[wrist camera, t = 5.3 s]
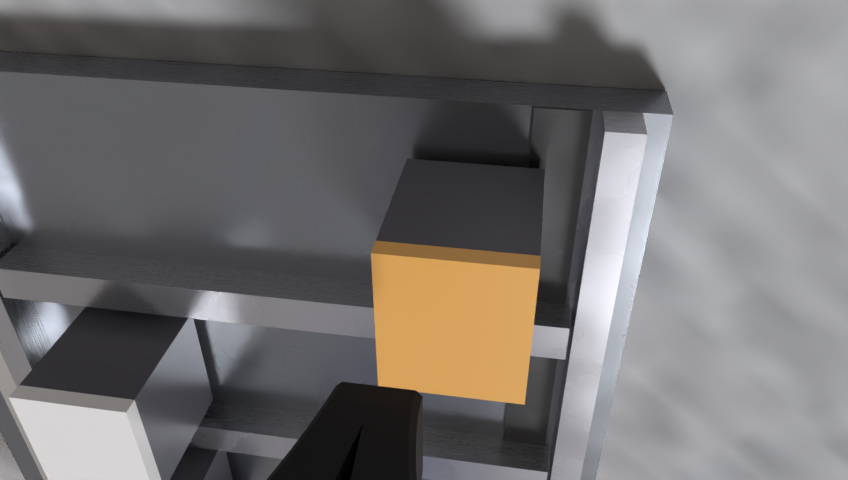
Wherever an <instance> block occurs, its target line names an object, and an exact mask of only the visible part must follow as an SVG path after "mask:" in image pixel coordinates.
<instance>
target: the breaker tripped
mask: <svg viewBox="0 0 848 480" xmlns="http://www.w3.org/2000/svg"><path fill="white" fill-rule="evenodd" d="M544 177H545V169H537V168H524V167H511V166H498V165H484V164H471V163H458V162H445V161H432V160H419V159H407V160H406V163H405V165H404V168H403V171H402V173H401V176H400V178H399V181H398V184H397V186H396V189H395V191H394V194H393V197H392V199H391V202H390V204H389V207H388V210H387V212H386V215H385V218H384V220H383V223H382V225H381V228H380V231H379V233H378V236H377V238H376V241H375V244H374V246H373V249H372V252H371V265H372V284H373V302H374V320H375V338H376V357H377V375H378V386H383V387H392V388H400V389H409V390H416V391H417V392H423V393H431V394H439V395H448V396H456V397H464V398H473V399H481V400H489V401H498V402H506V403H514V404H523V405H525V397H526V389H527V380H528V371H529V362H530V353H531V345H532V336H533V327H534V318H535V309H536V301H537V292H538V283H539V274H540V260H541V239H542V219H543V198H544Z"/></svg>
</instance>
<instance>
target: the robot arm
mask: <svg viewBox="0 0 848 480" xmlns="http://www.w3.org/2000/svg"><path fill="white" fill-rule="evenodd" d="M422 473H423V396H422V395H420V394H419V393H418V392H417V391H416V390H409V389H400V388H392V387H383V386H375V385H366V384H358V383H350V382H341V383H339V384H338V385H336V386H335V388H334V389H333V391H332V393H331V394H330V396H329V397H328V399H327V400H326V402H325V403H324V404H323V406H322V407H321V409H320V410H319V412H318V413H317V415H316V416H315V417H314V419H313V420H312V422H311V423H310V424H309V426H308V427H307V428H306V430H305V431H304V432H303V434H302V435H301V436H300V438H299V439H298V440H297V442H296V443H295V444H294V446H293V447H292V448H291V450H290V451H289V452H288V453H287V455H286V456H285V457H284V458H283V460H282V461H281V462H280V463H279V465H278V466H277V467H276V468H275V470H274V471H273V472H272V473H271V475H270V476H269V477H268V478H267V480H422Z"/></svg>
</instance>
